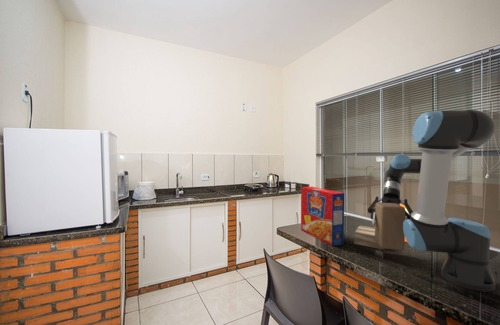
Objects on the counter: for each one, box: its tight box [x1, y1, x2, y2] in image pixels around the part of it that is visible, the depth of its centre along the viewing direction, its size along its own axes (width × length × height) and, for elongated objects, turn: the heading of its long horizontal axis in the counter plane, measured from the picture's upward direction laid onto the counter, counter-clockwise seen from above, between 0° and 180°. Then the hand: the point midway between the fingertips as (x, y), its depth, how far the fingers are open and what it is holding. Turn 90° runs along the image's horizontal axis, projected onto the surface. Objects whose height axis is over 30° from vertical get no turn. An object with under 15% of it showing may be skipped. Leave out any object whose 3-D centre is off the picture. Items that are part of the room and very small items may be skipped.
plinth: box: [353, 225, 385, 250], centre depth 127 cm, size 16×14×6 cm
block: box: [374, 202, 406, 251], centre depth 109 cm, size 10×10×20 cm
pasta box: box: [300, 186, 345, 247], centre depth 135 cm, size 28×8×28 cm, turn 22°
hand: (388, 227), depth 107 cm, fingers closed on block, 12 cm apart
